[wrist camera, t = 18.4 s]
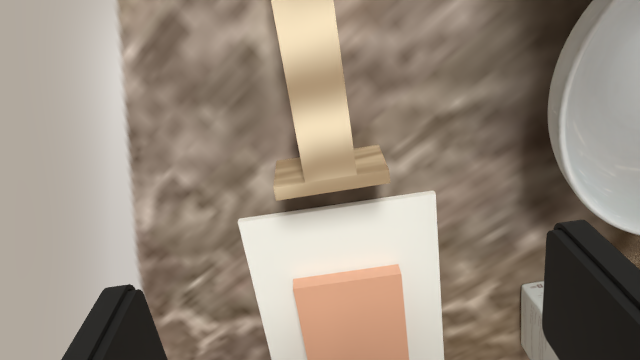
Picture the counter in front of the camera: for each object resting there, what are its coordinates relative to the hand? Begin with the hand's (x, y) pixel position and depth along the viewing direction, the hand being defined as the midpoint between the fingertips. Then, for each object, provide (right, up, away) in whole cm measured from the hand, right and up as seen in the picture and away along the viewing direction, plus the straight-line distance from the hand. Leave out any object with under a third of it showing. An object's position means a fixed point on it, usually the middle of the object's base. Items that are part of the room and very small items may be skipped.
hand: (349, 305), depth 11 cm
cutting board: (+2, -7, +32) cm, 33 cm away
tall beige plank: (-1, +11, +24) cm, 26 cm away
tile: (+2, -5, +30) cm, 30 cm away
